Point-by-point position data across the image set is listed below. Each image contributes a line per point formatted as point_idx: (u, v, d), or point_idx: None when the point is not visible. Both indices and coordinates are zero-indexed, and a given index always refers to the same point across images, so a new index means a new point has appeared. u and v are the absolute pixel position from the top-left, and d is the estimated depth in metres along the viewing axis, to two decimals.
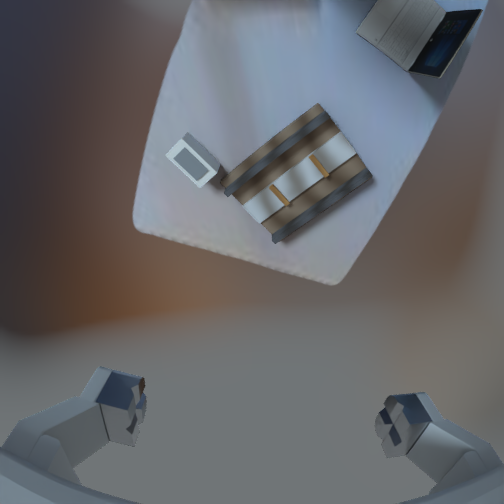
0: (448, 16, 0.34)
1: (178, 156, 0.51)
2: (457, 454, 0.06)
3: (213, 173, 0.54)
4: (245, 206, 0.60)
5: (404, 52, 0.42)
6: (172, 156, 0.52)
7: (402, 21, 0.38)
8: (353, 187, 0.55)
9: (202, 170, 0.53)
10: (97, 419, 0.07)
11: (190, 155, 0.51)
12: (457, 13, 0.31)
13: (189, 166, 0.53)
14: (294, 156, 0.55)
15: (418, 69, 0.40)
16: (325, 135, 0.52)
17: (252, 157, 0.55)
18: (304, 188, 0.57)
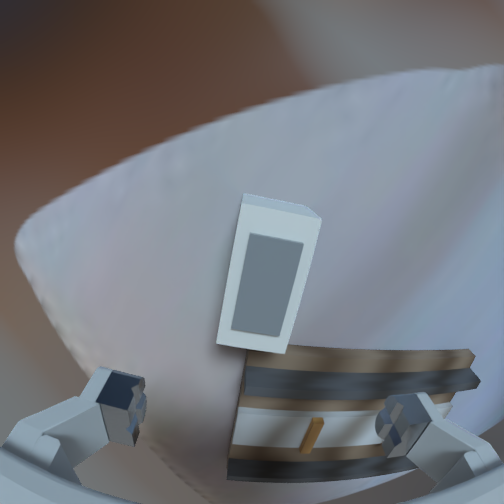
0: None
1: (266, 244, 0.17)
2: (457, 454, 0.06)
3: (277, 348, 0.19)
4: (243, 415, 0.24)
5: None
6: (252, 226, 0.17)
7: None
8: (392, 472, 0.26)
9: (268, 325, 0.18)
10: (97, 419, 0.07)
11: (291, 273, 0.17)
12: None
13: (259, 289, 0.18)
14: None
15: None
16: (437, 397, 0.26)
17: (345, 360, 0.23)
18: (345, 444, 0.26)
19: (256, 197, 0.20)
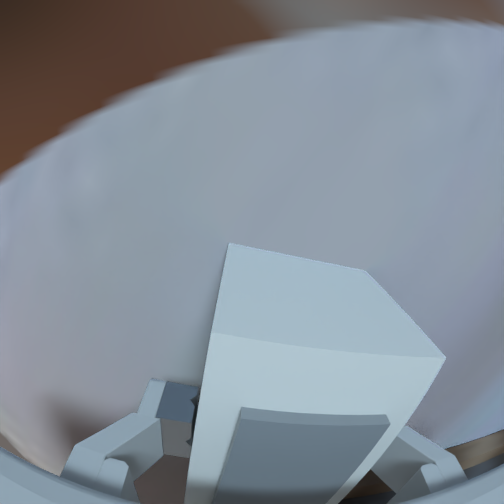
0: None
1: (290, 438, 0.05)
2: (417, 465, 0.06)
3: None
4: None
5: None
6: (250, 395, 0.05)
7: None
8: None
9: None
10: (156, 434, 0.07)
11: (344, 473, 0.05)
12: None
13: (263, 497, 0.06)
14: None
15: None
16: None
17: None
18: None
19: (259, 261, 0.08)
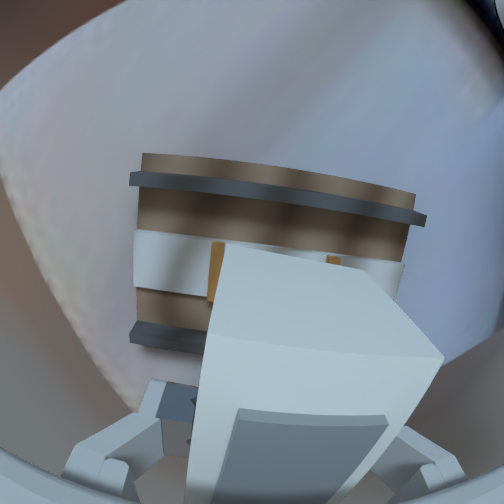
0: None
1: (288, 438, 0.05)
2: (416, 466, 0.06)
3: None
4: (139, 235, 0.24)
5: None
6: (247, 396, 0.05)
7: None
8: None
9: None
10: (157, 434, 0.07)
11: (342, 474, 0.05)
12: None
13: (262, 497, 0.06)
14: (304, 233, 0.25)
15: None
16: (378, 247, 0.26)
17: (239, 164, 0.24)
18: None
19: (256, 262, 0.08)
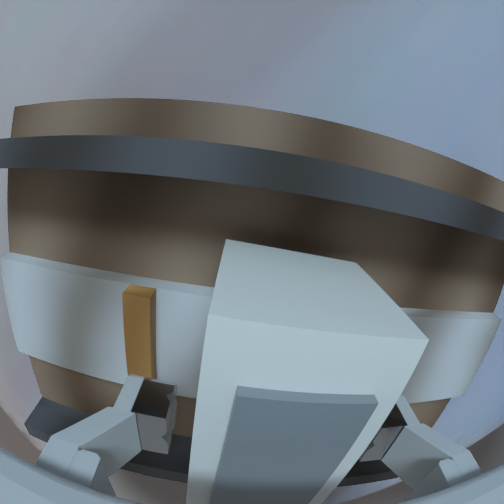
0: None
1: (283, 415, 0.05)
2: (433, 461, 0.06)
3: None
4: (7, 264, 0.10)
5: None
6: (245, 373, 0.05)
7: None
8: (379, 478, 0.12)
9: None
10: (132, 429, 0.07)
11: (337, 454, 0.06)
12: None
13: (262, 478, 0.06)
14: None
15: None
16: (468, 290, 0.12)
17: (190, 107, 0.09)
18: None
19: (254, 255, 0.09)
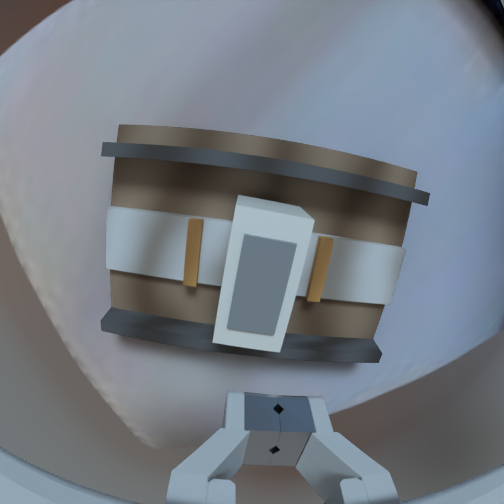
0: None
1: (260, 245, 0.17)
2: (344, 478, 0.06)
3: (272, 346, 0.19)
4: (112, 211, 0.22)
5: None
6: (246, 227, 0.17)
7: None
8: (334, 358, 0.24)
9: (263, 323, 0.19)
10: (244, 446, 0.07)
11: (285, 273, 0.18)
12: None
13: (254, 289, 0.18)
14: None
15: None
16: (376, 229, 0.23)
17: (221, 134, 0.21)
18: None
19: (250, 199, 0.20)
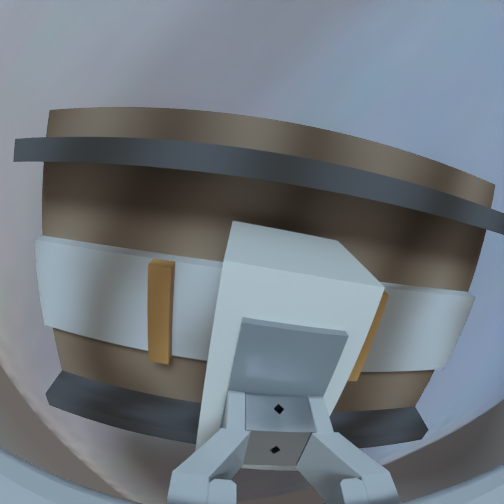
0: None
1: (276, 341, 0.08)
2: (344, 477, 0.06)
3: (288, 466, 0.10)
4: (41, 245, 0.13)
5: None
6: (248, 306, 0.08)
7: None
8: (368, 444, 0.15)
9: None
10: (245, 446, 0.07)
11: (320, 384, 0.09)
12: None
13: None
14: None
15: None
16: (441, 269, 0.14)
17: (203, 116, 0.12)
18: None
19: (254, 231, 0.11)
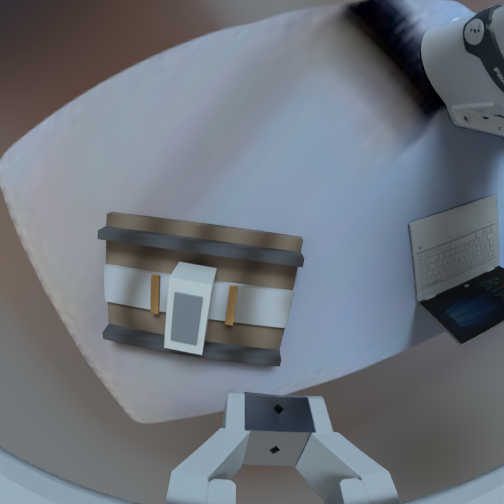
0: (499, 272, 0.37)
1: (183, 298, 0.31)
2: (343, 478, 0.06)
3: (197, 351, 0.33)
4: (107, 268, 0.36)
5: (432, 281, 0.39)
6: (176, 288, 0.31)
7: (458, 247, 0.38)
8: (246, 361, 0.38)
9: (190, 338, 0.33)
10: (244, 446, 0.07)
11: (198, 312, 0.32)
12: None
13: (182, 320, 0.32)
14: None
15: (434, 311, 0.36)
16: (272, 279, 0.37)
17: (168, 223, 0.35)
18: None
19: (184, 266, 0.34)
